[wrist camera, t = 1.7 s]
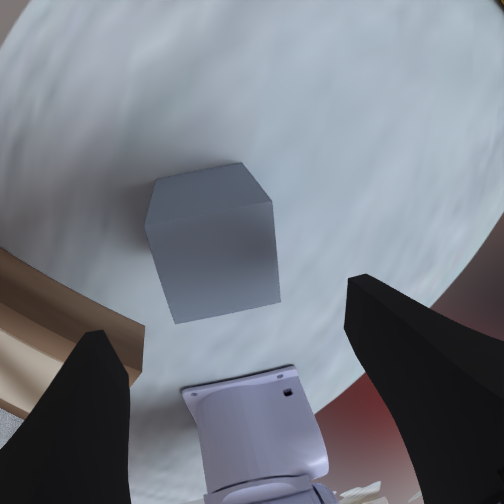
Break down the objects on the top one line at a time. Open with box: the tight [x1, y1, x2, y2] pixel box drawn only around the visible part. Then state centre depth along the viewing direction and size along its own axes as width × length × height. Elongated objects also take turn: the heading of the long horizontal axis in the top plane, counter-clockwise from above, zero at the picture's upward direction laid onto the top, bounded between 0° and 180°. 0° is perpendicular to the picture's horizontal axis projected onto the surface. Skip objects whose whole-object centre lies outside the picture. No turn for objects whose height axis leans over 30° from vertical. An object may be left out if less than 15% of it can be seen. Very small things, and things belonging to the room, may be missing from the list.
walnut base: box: [0, 248, 145, 420], centre depth 17 cm, size 12×12×4 cm
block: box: [144, 163, 281, 324], centre depth 14 cm, size 4×4×6 cm
